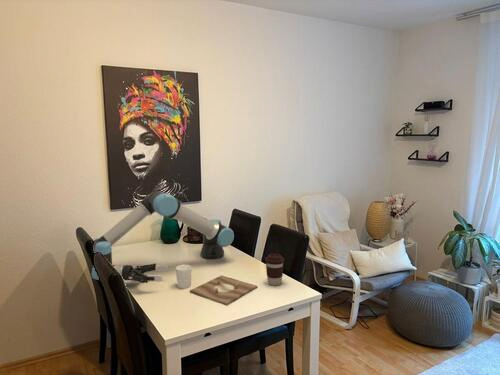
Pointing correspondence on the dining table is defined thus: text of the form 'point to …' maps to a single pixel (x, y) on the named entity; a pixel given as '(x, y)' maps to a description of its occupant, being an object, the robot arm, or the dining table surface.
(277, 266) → the coffee cup
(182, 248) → the dining table surface
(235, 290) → the brown flat square piece
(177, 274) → the white cup
